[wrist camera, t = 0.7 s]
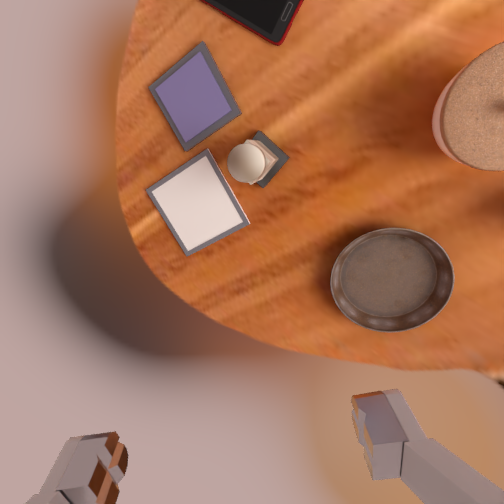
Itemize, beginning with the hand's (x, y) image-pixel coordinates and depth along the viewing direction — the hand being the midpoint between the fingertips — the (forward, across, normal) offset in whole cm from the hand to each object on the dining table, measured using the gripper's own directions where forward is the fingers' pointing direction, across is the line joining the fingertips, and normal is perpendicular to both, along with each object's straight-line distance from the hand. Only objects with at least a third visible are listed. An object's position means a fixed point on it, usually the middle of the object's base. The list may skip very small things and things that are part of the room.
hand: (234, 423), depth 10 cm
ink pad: (+45, +5, -12) cm, 47 cm away
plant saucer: (+34, -21, +19) cm, 44 cm away
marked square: (+44, +8, +4) cm, 45 cm away
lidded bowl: (+35, -32, -3) cm, 47 cm away
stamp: (+42, -4, -2) cm, 42 cm away
